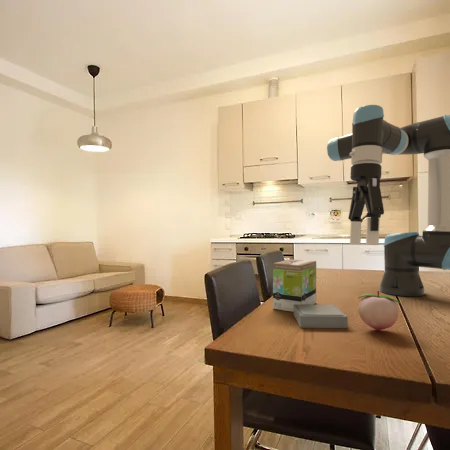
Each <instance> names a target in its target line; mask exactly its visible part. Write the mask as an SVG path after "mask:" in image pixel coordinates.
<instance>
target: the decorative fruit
mask: <svg viewBox="0 0 450 450" xmlns="http://www.w3.org/2000/svg"><path fill="white" fill-rule="evenodd" d="M357 299H361V300H360V302H359V303H358V308H357V309H358V310H357V311H358V315H359V317H360V319H361V320H362V322H363V323H365V325H367V326H368V327H370V328H371V329H373V330H376V331H378V332H380V331H383V330H385V329H389V328H391V327H393V326H394V325H395V323H396V322H397V321H398V318H399V308H398V305H397V303H398V304H400V302H399V300H398V299H397V298H396V297H394V296H392V295H387V294H386V295H385V294H383V295H382V294H381V295H380V290H377V295H376V294H374V293H373V294H372V293H364V294H362V295H361V294H360V295H359V296H358V297H357Z"/></svg>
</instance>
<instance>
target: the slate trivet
mask: <svg viewBox="0 0 450 450" xmlns="http://www.w3.org/2000/svg"><path fill="white" fill-rule="evenodd" d="M293 316H294V318H295V320H296V322H297V324H298V326H299V328H304V329H305V328H307V329H308V328H309V329H314V328H315V329H348V328H349V327H348V324H349V323H348V320H349V319H348V315H346V313H345V312H343V311H342V310H341V309H340V308H339V307H338V306H337V305H335V304H313V305H308V304H294V312H293Z"/></svg>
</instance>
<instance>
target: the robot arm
mask: <svg viewBox="0 0 450 450" xmlns="http://www.w3.org/2000/svg"><path fill="white" fill-rule="evenodd" d="M384 117H385V113H384V108H383V106H380V105H378V104H366V105H362V106H359V107H357V108H356V109H355V110H354V111H353V115H352V123H351V126H352V127H351V128H352V129H351V133H349V134H345V135H341V136H337V137H335V138H331V139H330V140H329V141H328V142H327V146H326V151H327V156H328V157H329V159H330V160H331V161H334V162H339V161H340V162H341V161H345V160H350V159H351V161H350V162H351V165H352V166H351V167H350V180H352V181H353V182H357V183H356V186H353V187H352V194H351V195H352V196H351V199H350V200H351V202H350V208H349V211H348V212H349V213H348V220H349V221H350V232H349V233H350V235H349V245H359V246H360V245H361V242H362V241H361V239H362V223H363V218H361V217H362V215H363V212H364V208H365V209H366V212H367V213H366V214H365V218H366V229H365V230H366V233H365V234H366V235H365V245H367V246H369V245H370V246H379V244H380V243H379V242H380V241H379V240H380V218H381V217H382V215H383V216H384V213H385V209H384V203H383V197H382V192H381V179H382V165H381V164H382V163H383V155H386V154H387V155H391V156H399V155H403V156H405V155H407V156H408V155H418V154H419V155H421V154H423V157H424V158H425V159H427V161H428V163H427V164H428V166H427V168H428V171H427V173H428V174H427V175H428V177H427V178H428V179H427V180H428V181H427V183H428V184H427V226H426V227H425V228H424V229H422V235H420V233H419V232H418V231H409V232H398V233H390V234H389V233H388V234H387V235H385V237H384V243H383V244H384V245H383V248H384V249H383V251H384V252H383V253H384V257H383V258H384V271H383V275H382V278H381V281H380V284H379V292H381V293H384V294H386V295H387V294H388V295H391V296H393V295H394V296H400V297H421V296H424V295H425V286H424V283H423V281H422V278H421V276H420V272H419V271H420V268H427V269H439V270H443V271H447V270H449V271H450V114H445V115H442V116H439V117H433V118H431V119H426V120H422V121H419V122H415V123H414V122H413V123H411V124H408V125H404V126H402V127H399V126H397V125H394V124H392V123H390V122H387V120H384Z"/></svg>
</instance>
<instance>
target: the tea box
mask: <svg viewBox="0 0 450 450" xmlns="http://www.w3.org/2000/svg"><path fill="white" fill-rule="evenodd" d="M272 267H273V268H272V269H273V271H272V309H273V310H280V311H287V312H292V313H294V304H308V305H316V302H317V261H316V260H309V259H308V260H307V259H286V260H282V261H277V262H273V265H272Z"/></svg>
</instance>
